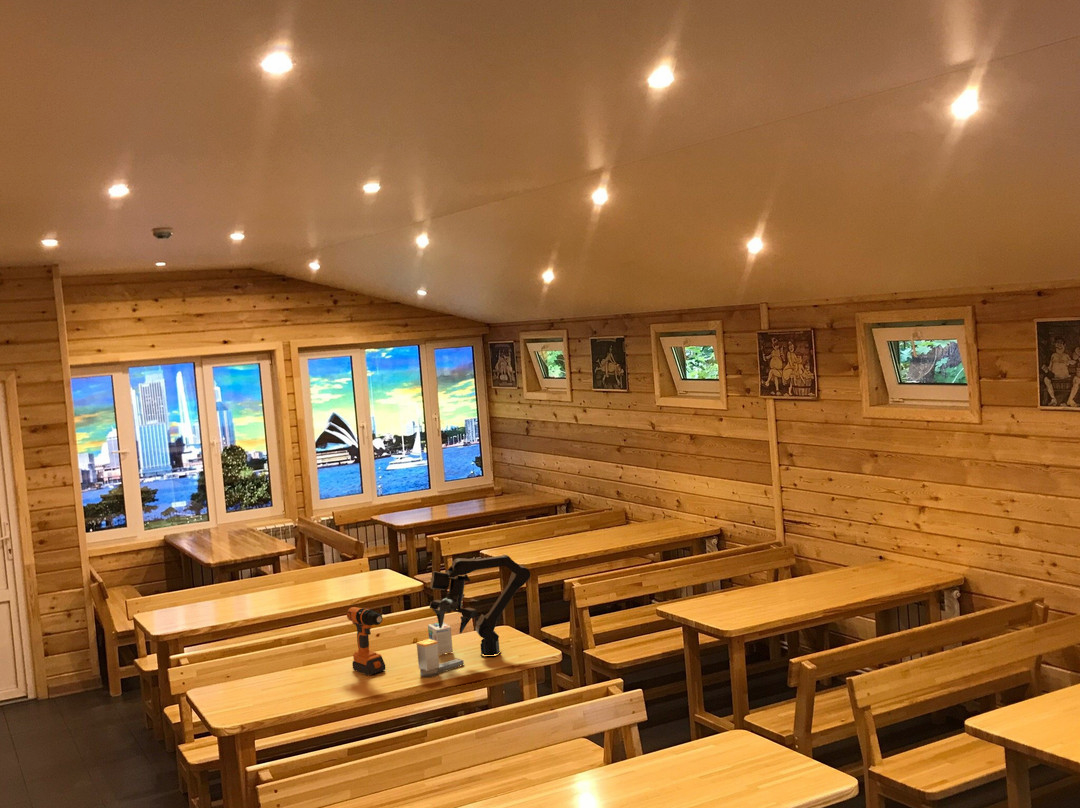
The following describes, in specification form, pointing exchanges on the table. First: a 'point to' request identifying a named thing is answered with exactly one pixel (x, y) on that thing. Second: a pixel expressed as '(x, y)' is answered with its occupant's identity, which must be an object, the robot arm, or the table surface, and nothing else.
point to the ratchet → (442, 668)
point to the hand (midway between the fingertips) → (450, 630)
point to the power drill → (365, 641)
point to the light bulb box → (441, 637)
